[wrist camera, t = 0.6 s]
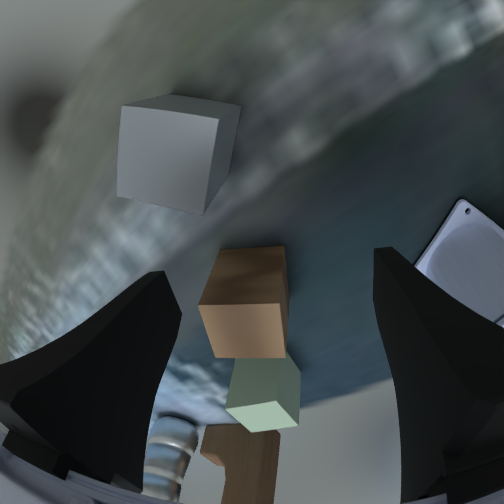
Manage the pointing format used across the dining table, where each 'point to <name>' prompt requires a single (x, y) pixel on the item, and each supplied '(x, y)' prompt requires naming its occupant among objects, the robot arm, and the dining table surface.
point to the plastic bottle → (168, 457)
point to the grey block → (175, 150)
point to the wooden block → (244, 461)
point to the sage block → (265, 393)
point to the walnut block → (247, 303)
